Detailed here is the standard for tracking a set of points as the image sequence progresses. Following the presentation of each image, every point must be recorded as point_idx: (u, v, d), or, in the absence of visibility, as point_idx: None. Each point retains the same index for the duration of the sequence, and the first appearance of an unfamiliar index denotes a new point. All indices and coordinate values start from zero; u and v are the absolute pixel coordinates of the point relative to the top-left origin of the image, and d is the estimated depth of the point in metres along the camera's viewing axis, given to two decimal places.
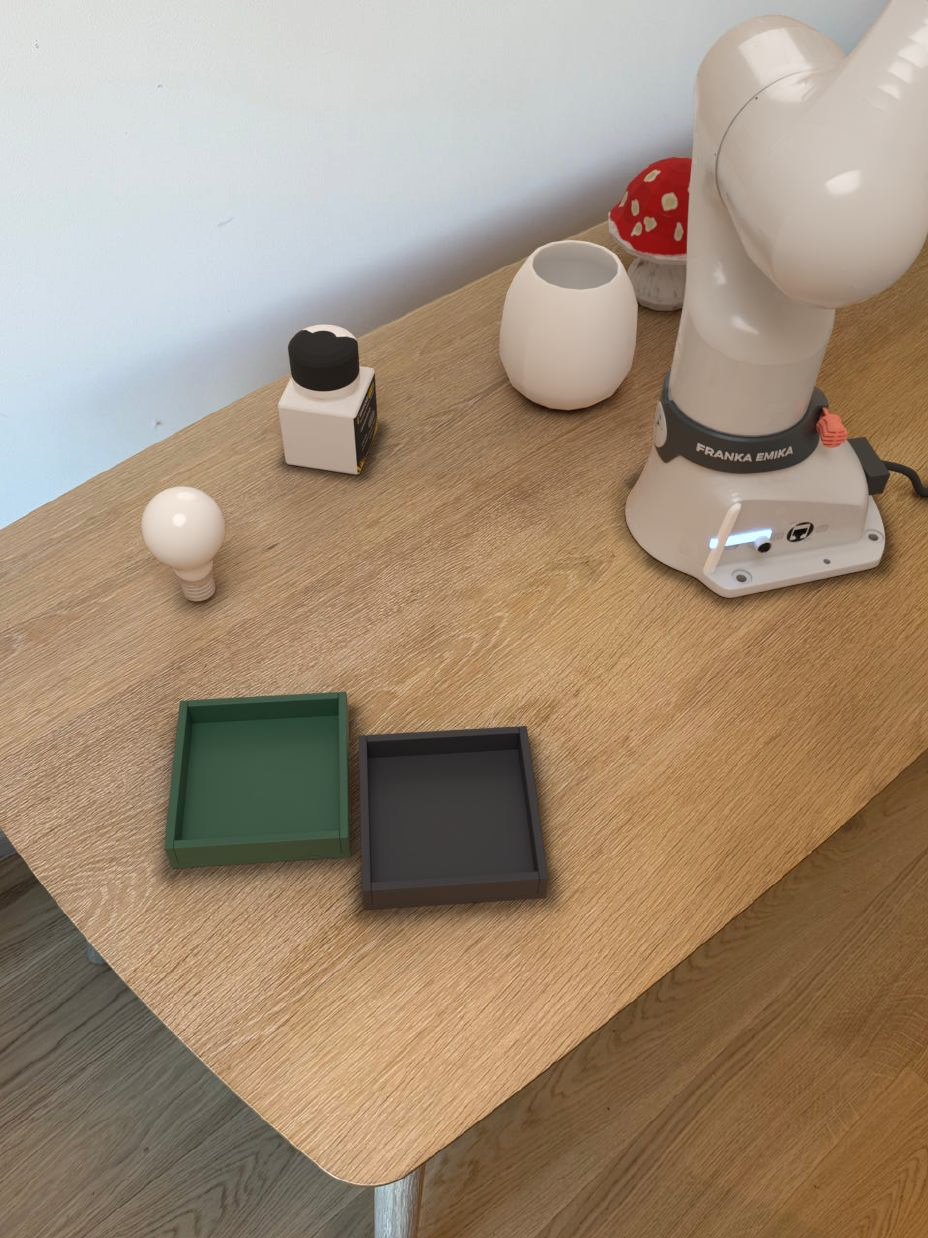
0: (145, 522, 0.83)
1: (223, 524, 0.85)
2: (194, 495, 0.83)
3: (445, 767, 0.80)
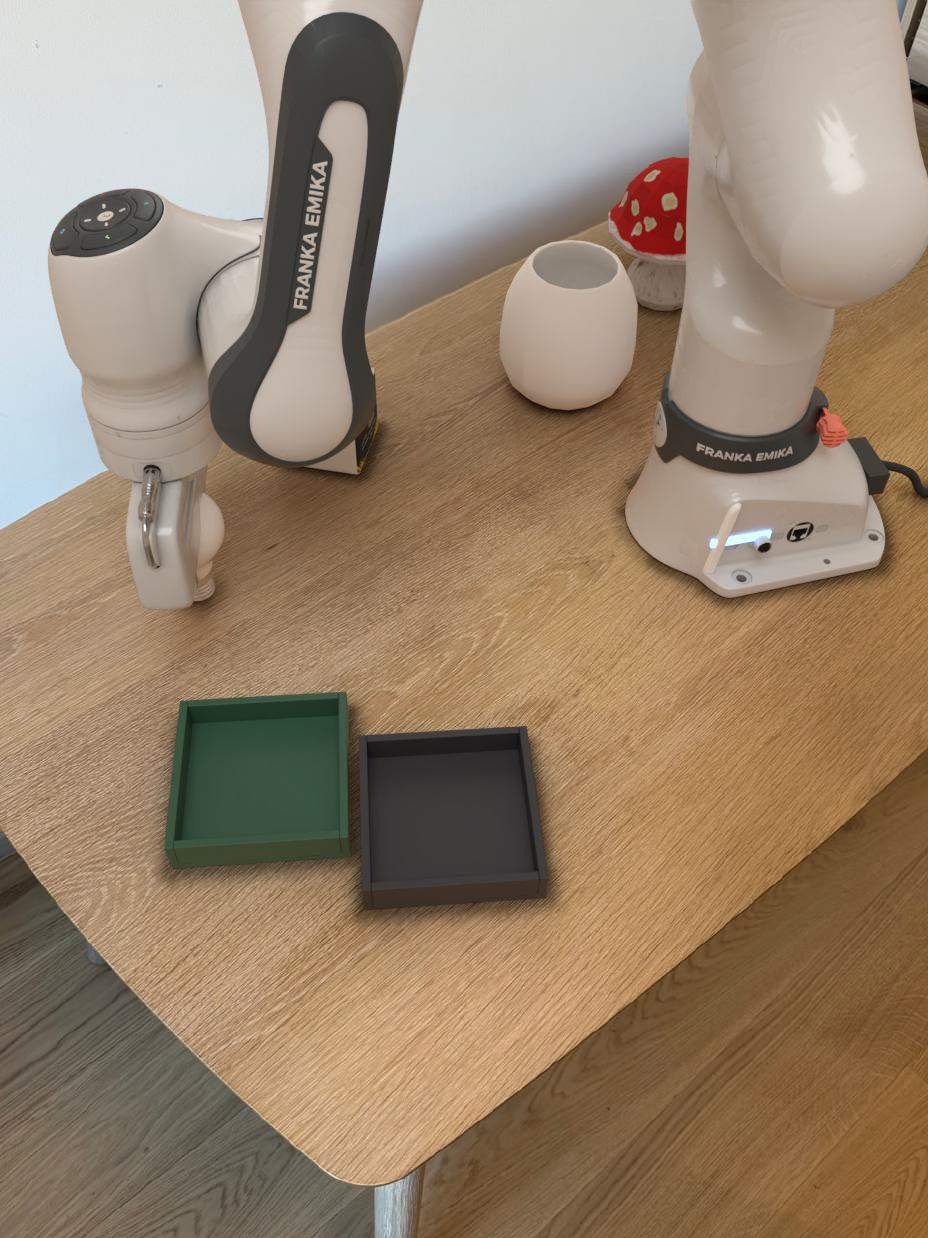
0: None
1: (222, 524, 0.85)
2: None
3: (445, 767, 0.80)
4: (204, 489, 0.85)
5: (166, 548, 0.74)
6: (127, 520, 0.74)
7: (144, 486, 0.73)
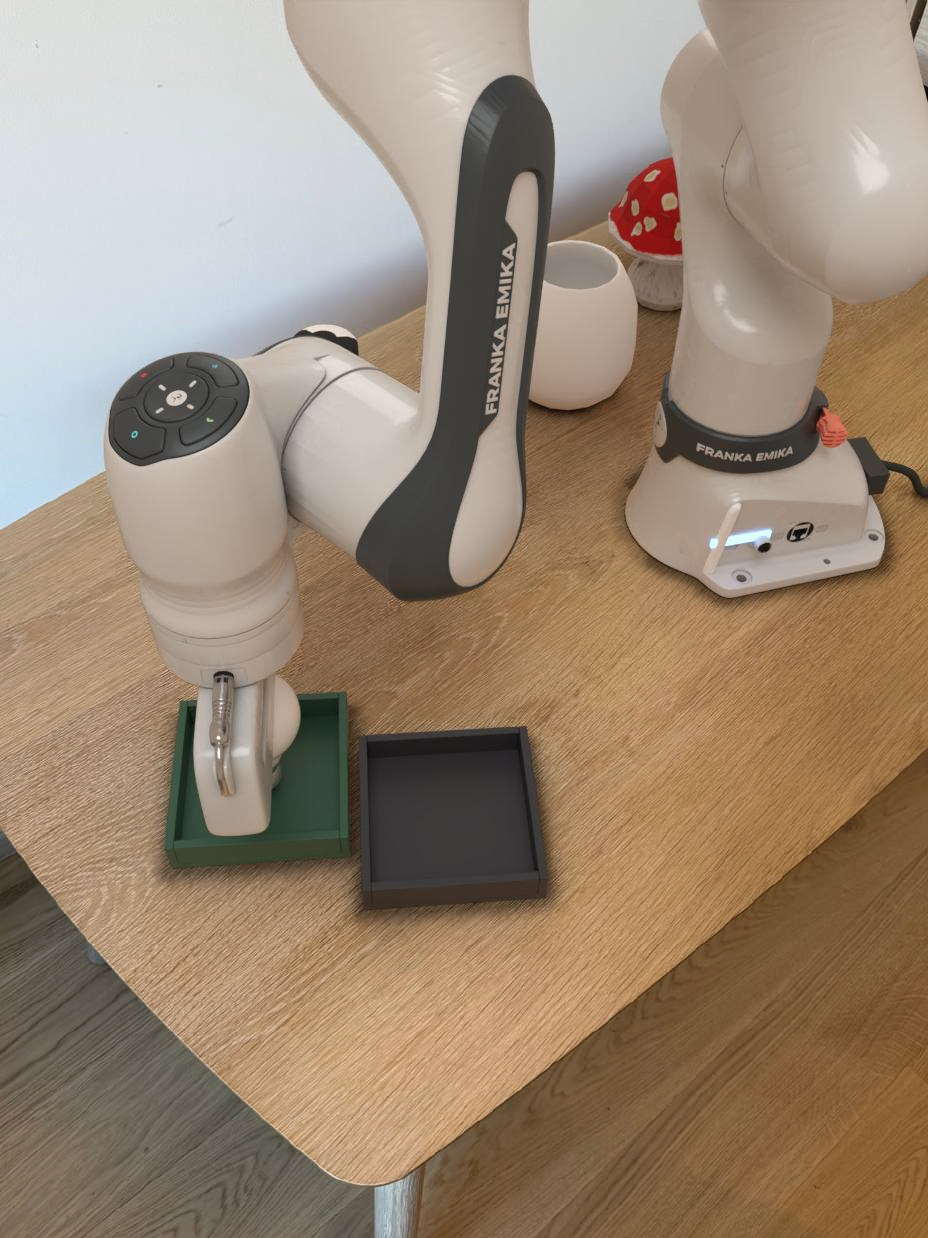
0: None
1: (299, 714, 0.73)
2: None
3: (445, 767, 0.80)
4: None
5: (242, 774, 0.61)
6: (195, 741, 0.61)
7: (216, 701, 0.61)
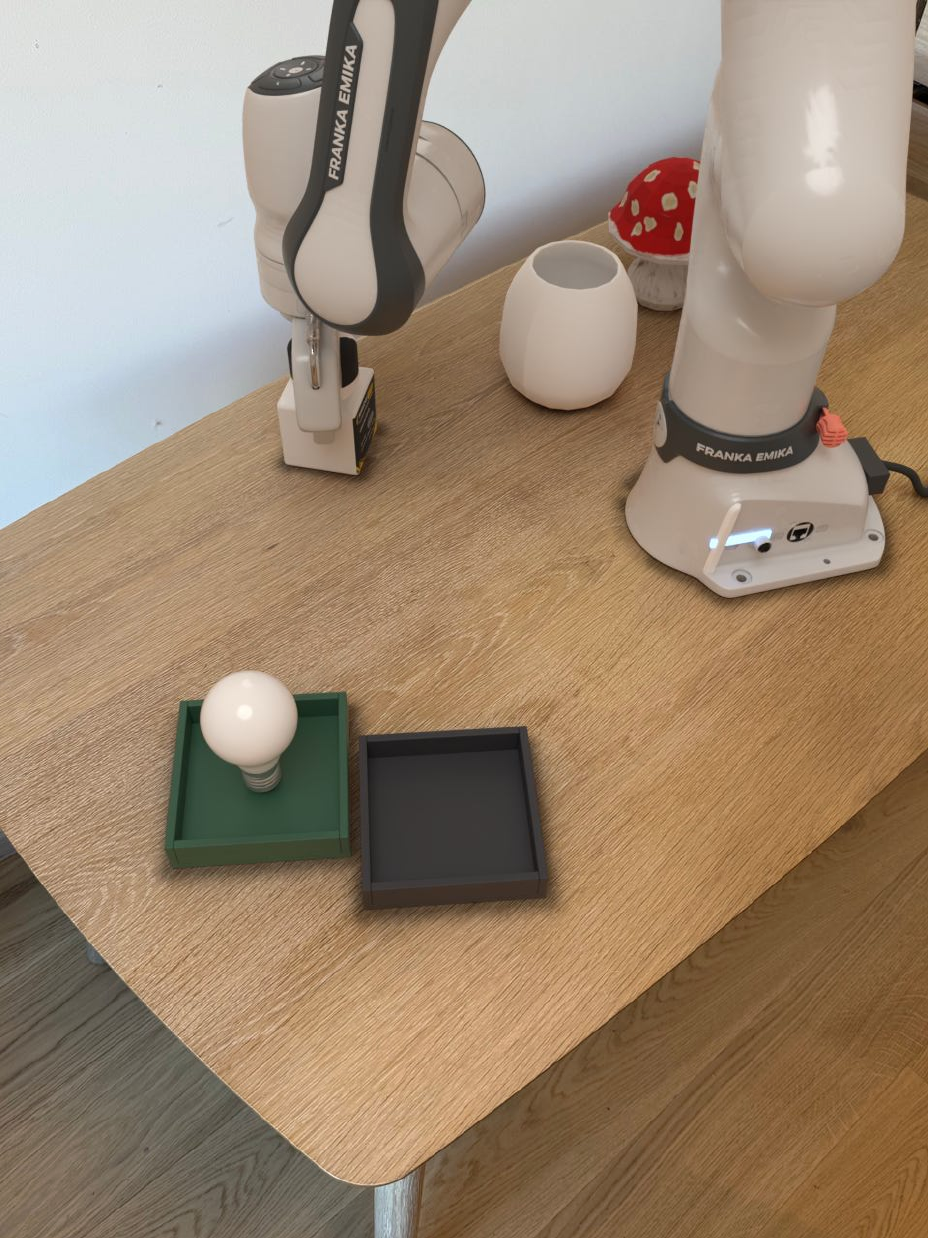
0: (206, 717, 0.71)
1: (296, 715, 0.73)
2: (263, 685, 0.71)
3: (445, 767, 0.80)
4: None
5: (327, 370, 0.86)
6: (293, 346, 0.86)
7: (309, 316, 0.85)
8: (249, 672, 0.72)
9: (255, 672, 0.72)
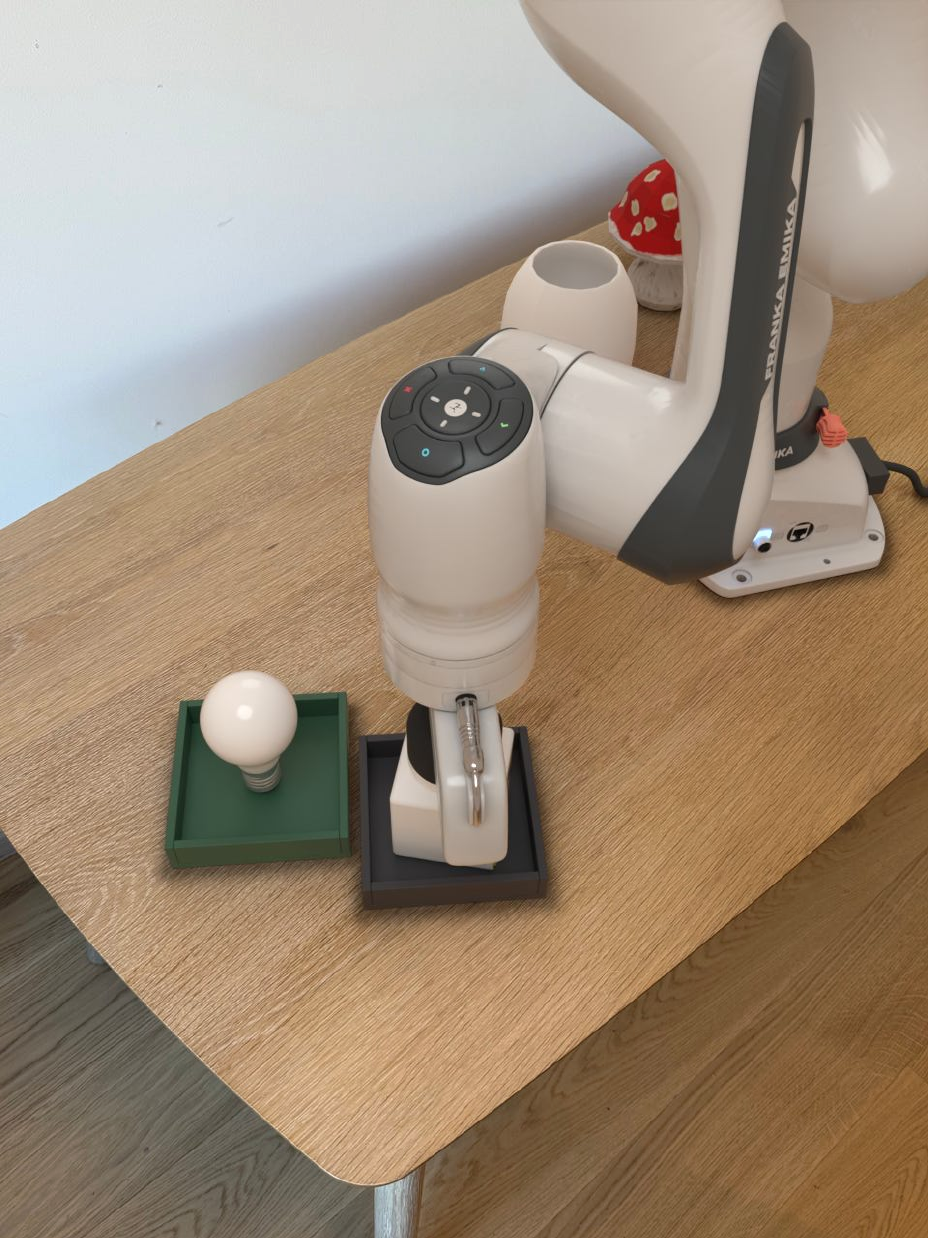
0: (206, 717, 0.71)
1: (296, 715, 0.73)
2: (263, 685, 0.71)
3: None
4: None
5: (493, 803, 0.58)
6: (442, 768, 0.58)
7: (465, 726, 0.57)
8: (249, 672, 0.72)
9: (255, 672, 0.72)
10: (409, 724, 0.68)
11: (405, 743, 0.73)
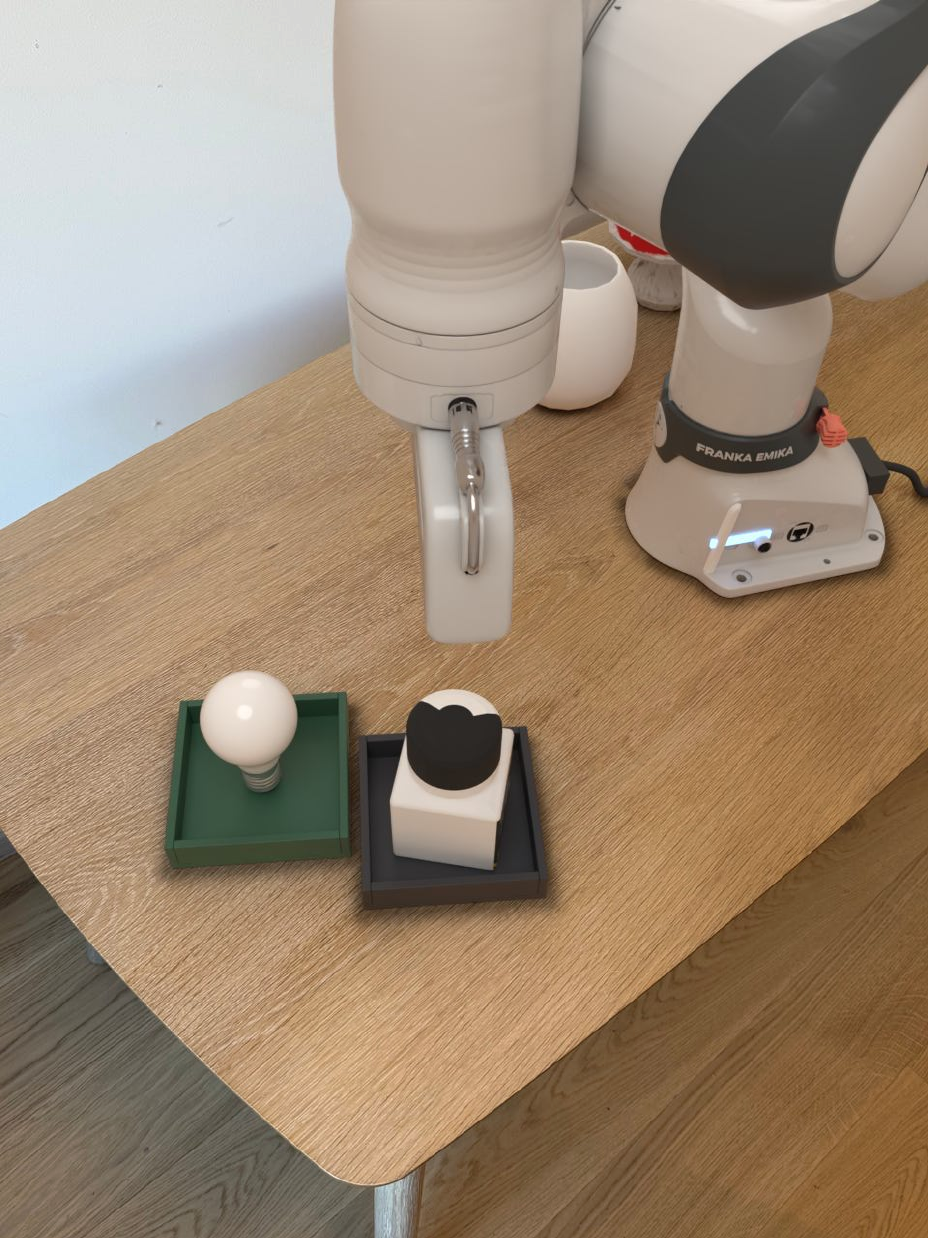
0: (206, 717, 0.71)
1: (296, 715, 0.73)
2: (263, 685, 0.71)
3: None
4: None
5: (495, 540, 0.43)
6: (428, 492, 0.43)
7: (460, 433, 0.42)
8: (249, 672, 0.72)
9: (255, 672, 0.72)
10: (409, 727, 0.68)
11: (405, 745, 0.73)
